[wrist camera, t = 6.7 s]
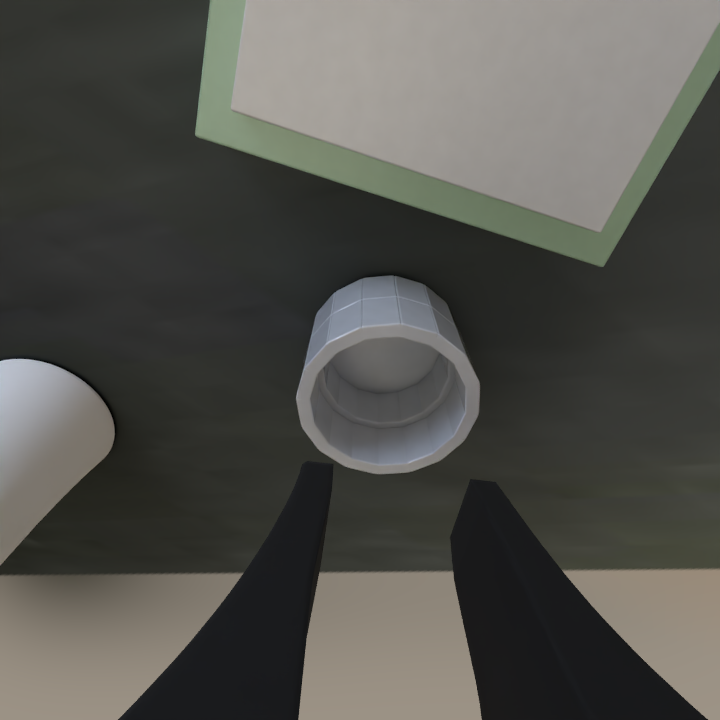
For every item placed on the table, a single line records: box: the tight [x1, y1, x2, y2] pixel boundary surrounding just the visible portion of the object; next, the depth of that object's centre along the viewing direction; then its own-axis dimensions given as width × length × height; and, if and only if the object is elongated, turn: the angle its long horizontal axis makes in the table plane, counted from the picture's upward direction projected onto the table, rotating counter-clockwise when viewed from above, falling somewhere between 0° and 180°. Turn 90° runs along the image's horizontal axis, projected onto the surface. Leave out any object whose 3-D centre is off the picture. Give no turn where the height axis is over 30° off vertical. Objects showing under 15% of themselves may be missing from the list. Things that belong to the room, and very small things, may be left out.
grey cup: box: [296, 275, 480, 474], centre depth 16 cm, size 6×6×4 cm
